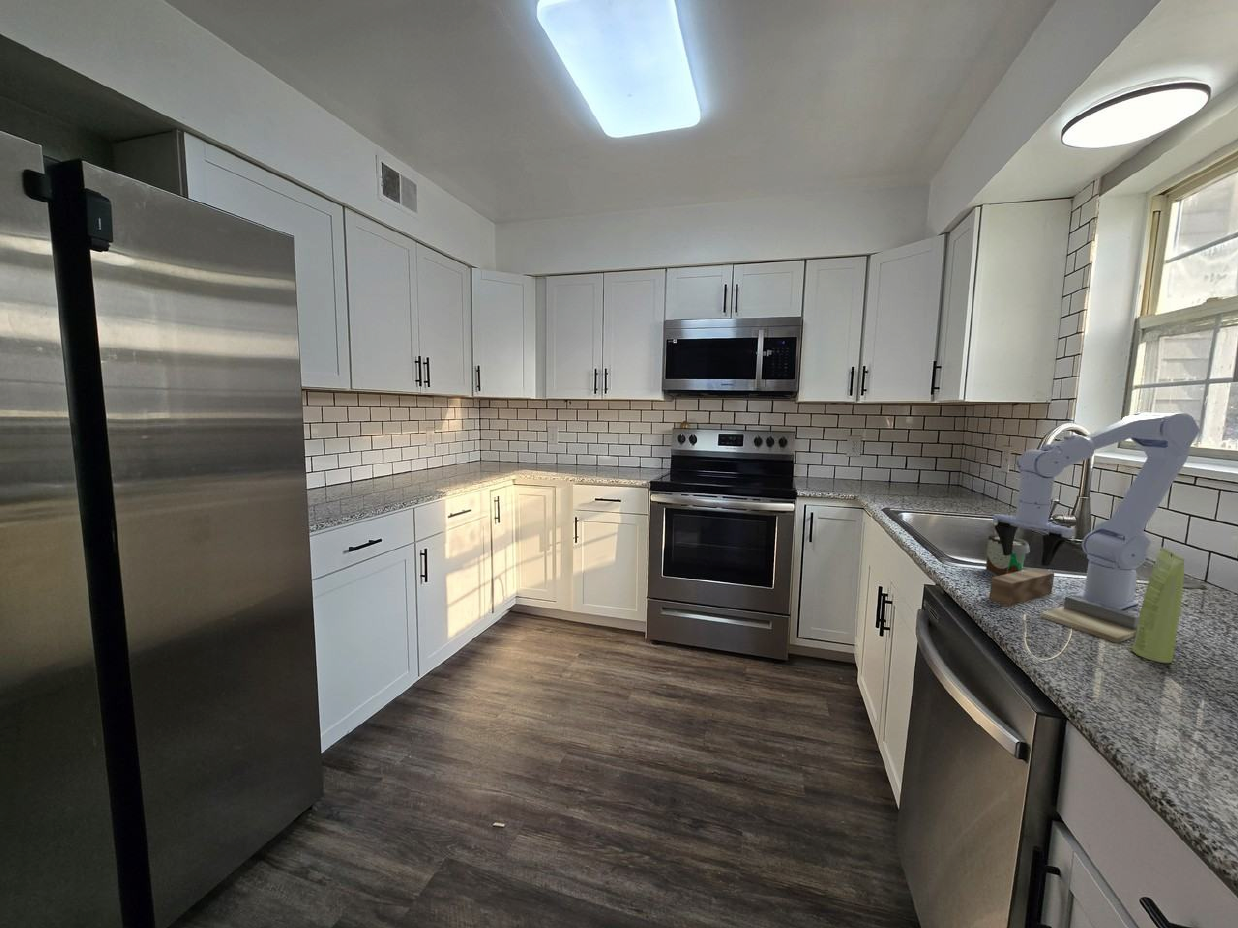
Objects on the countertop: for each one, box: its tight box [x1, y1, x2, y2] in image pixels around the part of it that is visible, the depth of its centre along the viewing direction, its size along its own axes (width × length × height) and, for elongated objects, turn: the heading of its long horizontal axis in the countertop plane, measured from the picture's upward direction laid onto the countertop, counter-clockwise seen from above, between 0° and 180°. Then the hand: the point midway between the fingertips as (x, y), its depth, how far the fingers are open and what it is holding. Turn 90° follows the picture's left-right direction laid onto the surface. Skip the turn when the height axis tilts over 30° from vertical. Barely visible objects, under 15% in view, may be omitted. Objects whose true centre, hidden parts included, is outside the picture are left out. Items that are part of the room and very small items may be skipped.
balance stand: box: [1040, 594, 1140, 644], centre depth 101 cm, size 18×12×4 cm, turn 115°
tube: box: [1131, 546, 1185, 664], centre depth 85 cm, size 6×5×20 cm
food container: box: [985, 533, 1031, 577], centre depth 126 cm, size 12×6×10 cm, turn 168°
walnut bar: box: [988, 567, 1055, 607], centre depth 113 cm, size 18×4×6 cm, turn 115°
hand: (1025, 559), depth 112 cm, fingers open, 7 cm apart
